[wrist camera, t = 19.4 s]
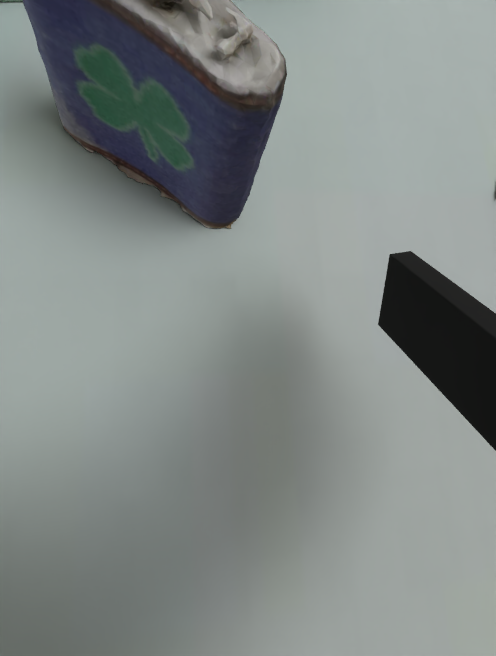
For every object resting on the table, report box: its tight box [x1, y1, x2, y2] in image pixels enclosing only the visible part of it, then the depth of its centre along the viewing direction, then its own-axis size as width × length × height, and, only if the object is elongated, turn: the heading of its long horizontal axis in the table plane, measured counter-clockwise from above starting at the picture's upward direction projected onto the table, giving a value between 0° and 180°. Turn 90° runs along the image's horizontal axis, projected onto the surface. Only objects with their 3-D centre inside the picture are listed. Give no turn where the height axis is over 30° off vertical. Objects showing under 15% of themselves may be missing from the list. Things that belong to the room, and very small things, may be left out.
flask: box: [23, 0, 287, 229], centre depth 16 cm, size 9×3×11 cm, turn 58°
